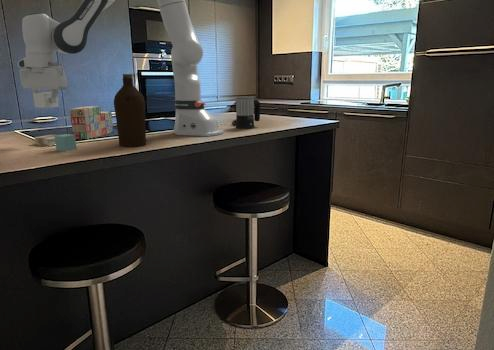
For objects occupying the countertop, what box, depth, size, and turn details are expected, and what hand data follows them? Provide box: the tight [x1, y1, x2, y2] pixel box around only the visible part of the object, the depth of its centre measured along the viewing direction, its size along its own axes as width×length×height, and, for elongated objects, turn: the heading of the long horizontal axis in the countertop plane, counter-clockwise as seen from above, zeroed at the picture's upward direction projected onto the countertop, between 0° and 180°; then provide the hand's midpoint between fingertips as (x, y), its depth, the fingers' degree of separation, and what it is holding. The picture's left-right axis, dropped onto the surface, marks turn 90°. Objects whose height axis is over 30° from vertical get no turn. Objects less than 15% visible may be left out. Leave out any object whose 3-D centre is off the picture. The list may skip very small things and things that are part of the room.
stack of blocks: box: [69, 105, 115, 140], centre depth 154 cm, size 21×6×12 cm, turn 172°
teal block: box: [54, 133, 77, 152], centre depth 125 cm, size 4×4×5 cm
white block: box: [32, 91, 60, 109], centre depth 133 cm, size 6×6×5 cm
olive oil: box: [113, 73, 147, 148], centre depth 131 cm, size 11×11×25 cm
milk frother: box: [231, 96, 261, 130], centre depth 182 cm, size 14×16×15 cm
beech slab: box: [34, 133, 58, 147], centre depth 137 cm, size 8×8×3 cm
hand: (46, 102), depth 133 cm, fingers closed on white block, 5 cm apart
